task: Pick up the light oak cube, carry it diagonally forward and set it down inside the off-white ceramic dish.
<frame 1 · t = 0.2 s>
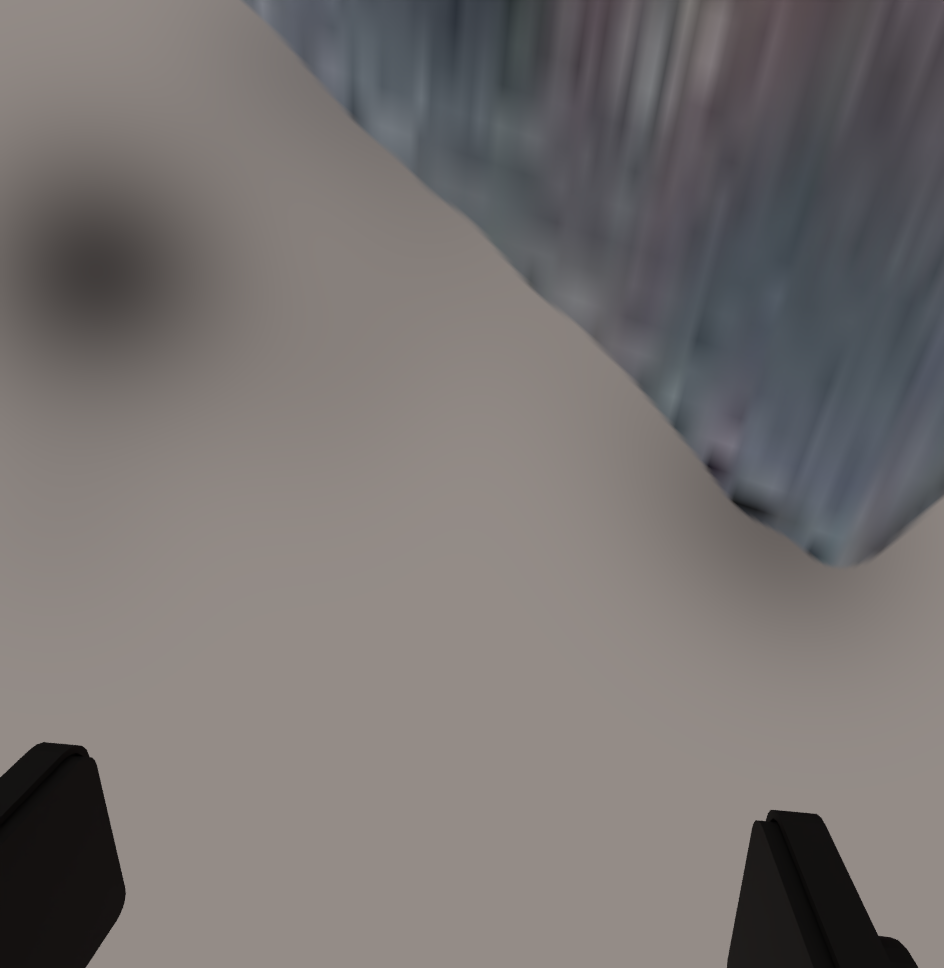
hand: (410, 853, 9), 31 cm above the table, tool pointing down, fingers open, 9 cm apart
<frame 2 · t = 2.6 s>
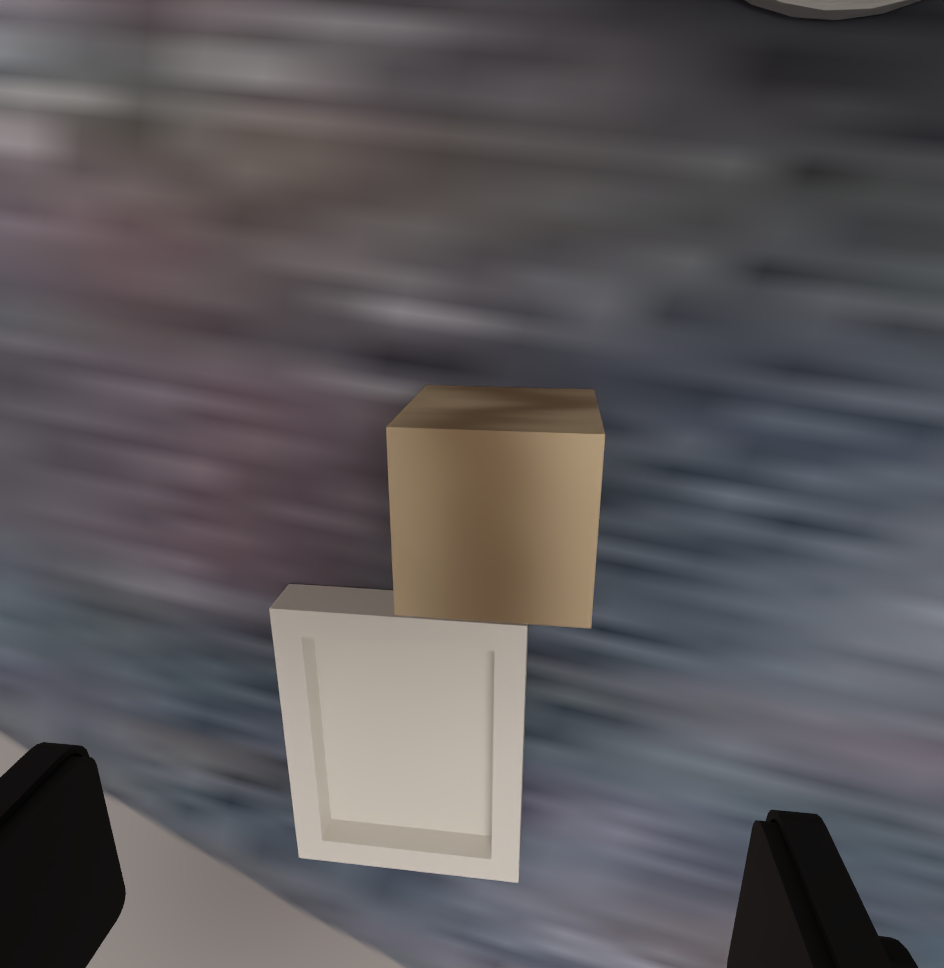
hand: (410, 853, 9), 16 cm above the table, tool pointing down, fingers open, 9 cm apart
oak cube: (507, 466, 24), on the table
dish: (411, 721, 29), on the table
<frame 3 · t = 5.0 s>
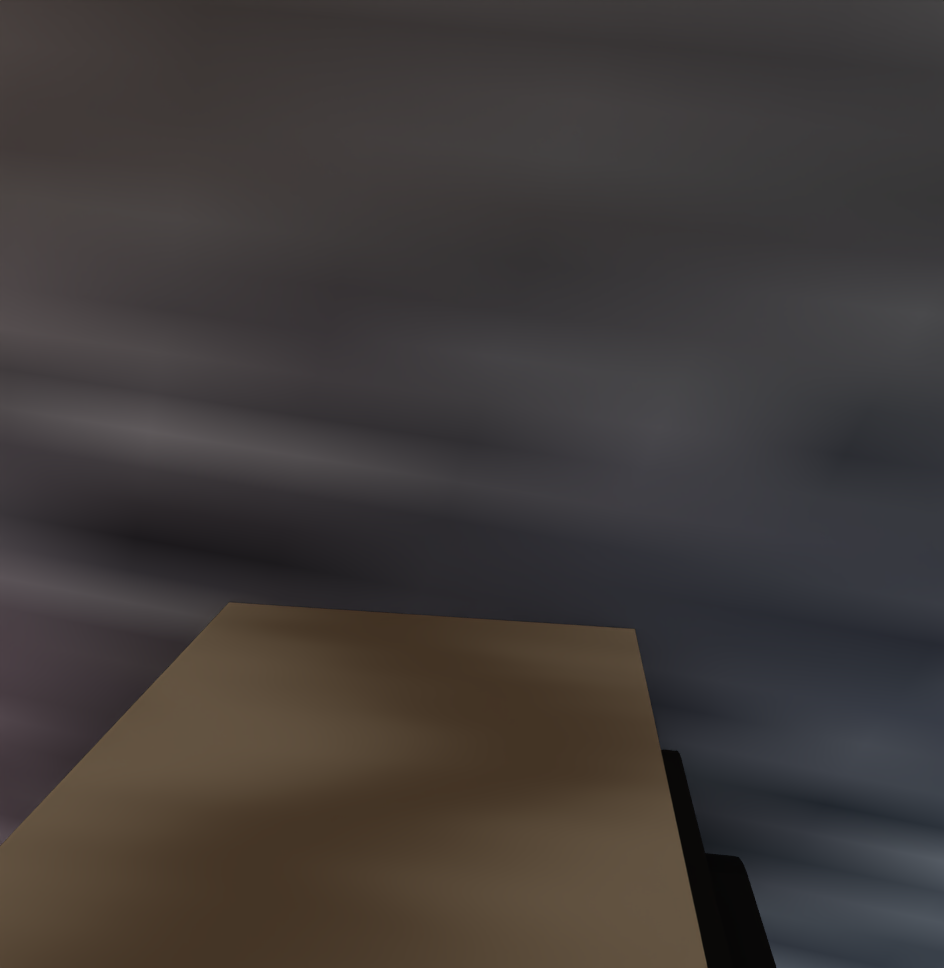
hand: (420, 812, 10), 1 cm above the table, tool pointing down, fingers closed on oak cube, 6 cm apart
oak cube: (428, 778, 11), on the table, touching gripper
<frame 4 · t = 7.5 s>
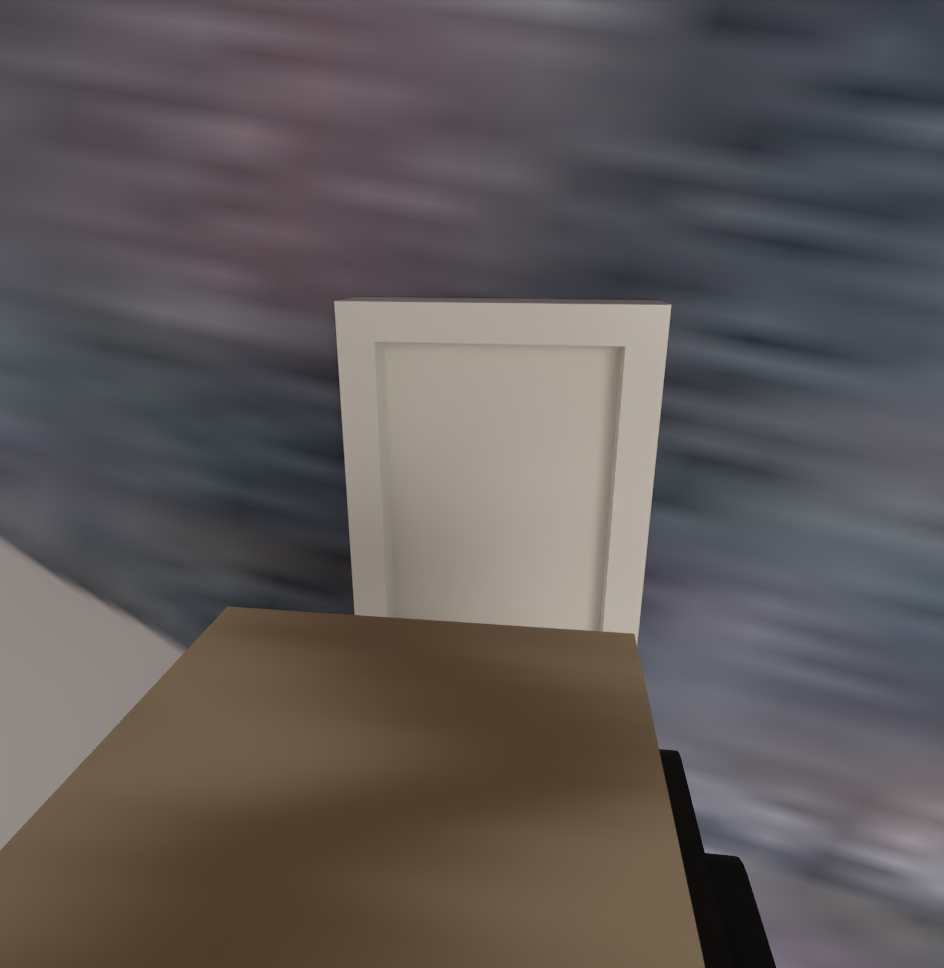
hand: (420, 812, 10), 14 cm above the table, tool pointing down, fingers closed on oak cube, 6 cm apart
oak cube: (427, 783, 11), point 14 cm above the table, touching gripper
dish: (499, 487, 23), on the table
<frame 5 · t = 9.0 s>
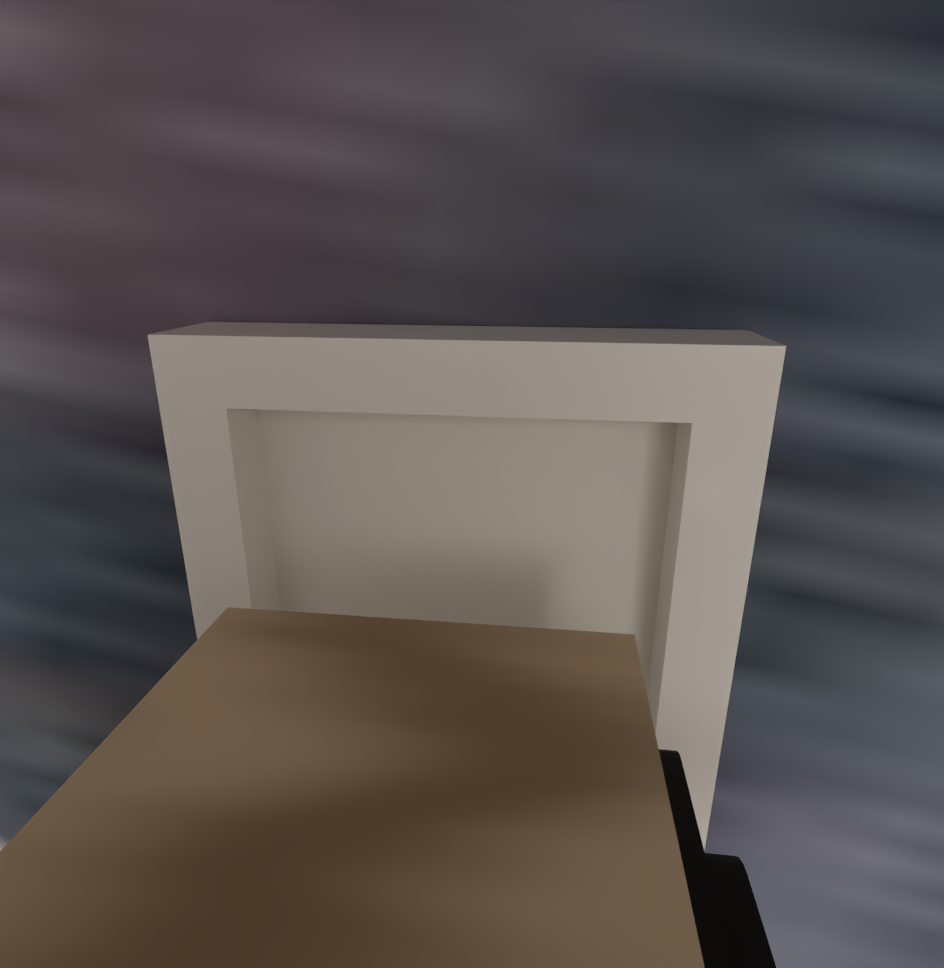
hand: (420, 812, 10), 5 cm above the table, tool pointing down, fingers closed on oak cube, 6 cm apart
oak cube: (427, 783, 11), point 4 cm above the table, touching gripper
dish: (466, 631, 14), on the table
when the fingers open (3 cm above the table, at t = 10.3 s): oak cube drops 1 cm, resting on dish.
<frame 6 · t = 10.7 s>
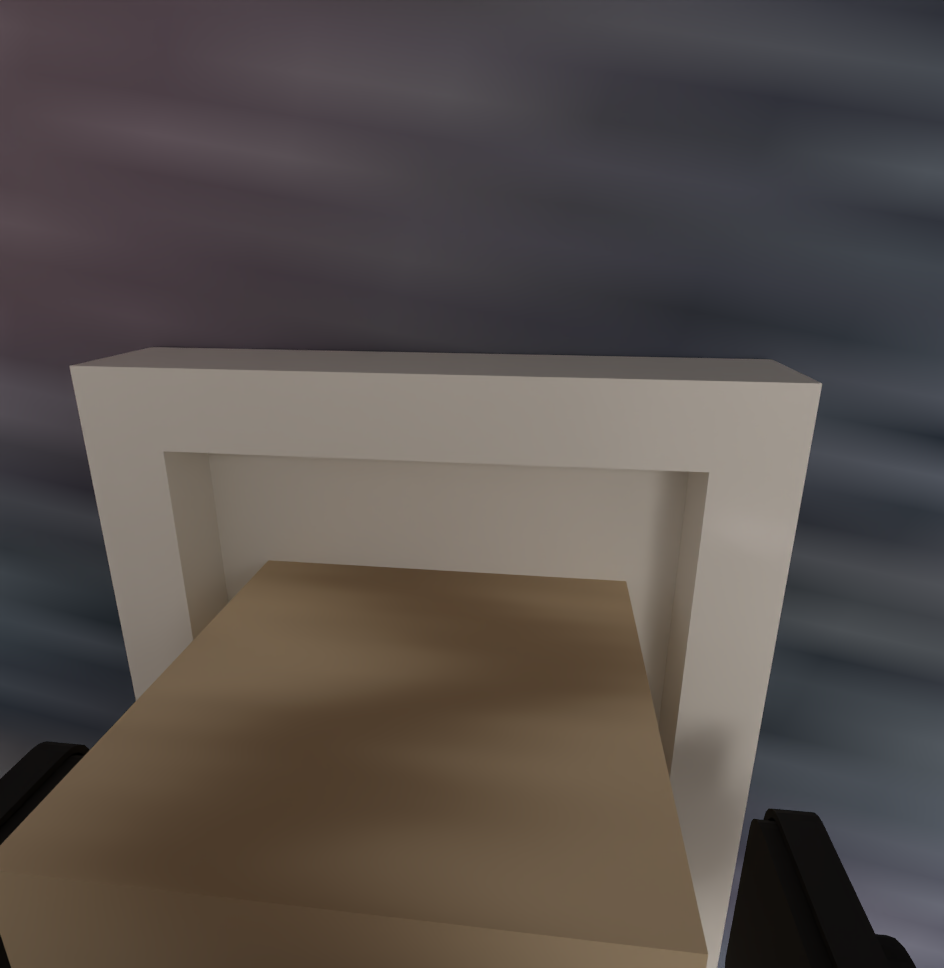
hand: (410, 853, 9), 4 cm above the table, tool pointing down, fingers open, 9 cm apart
oak cube: (443, 719, 12), point 1 cm above the table, touching dish
dish: (448, 693, 13), on the table
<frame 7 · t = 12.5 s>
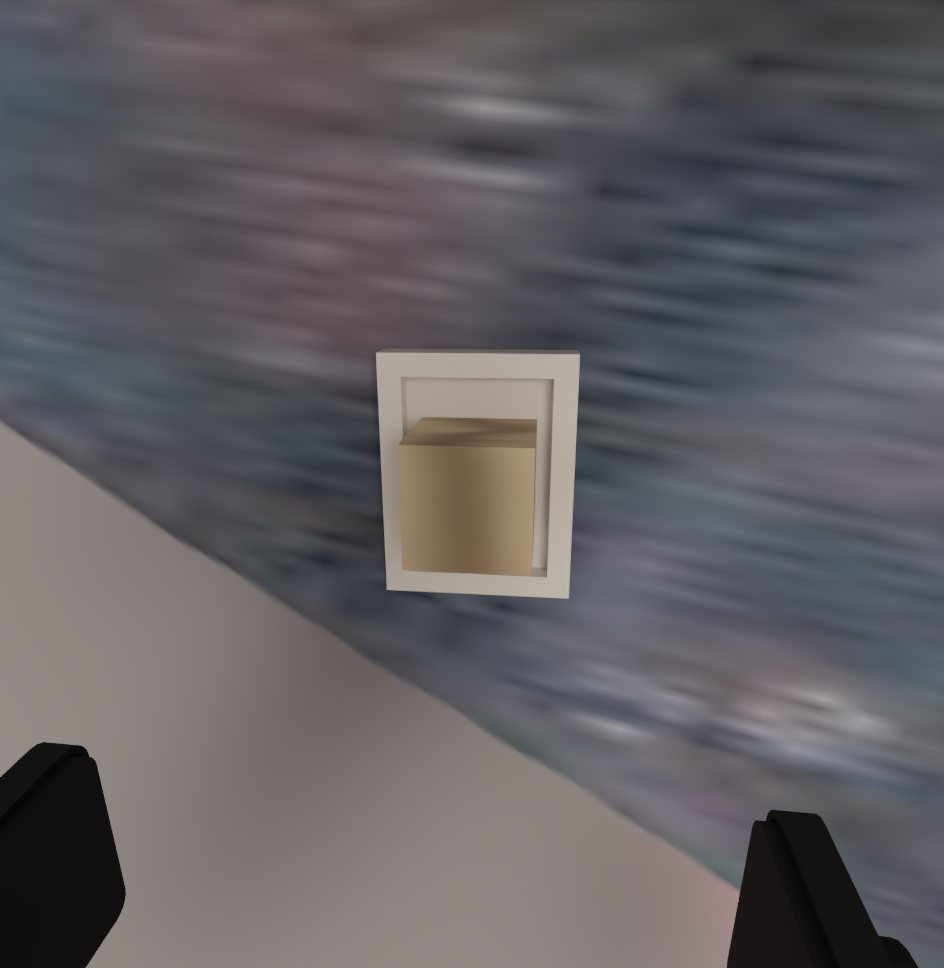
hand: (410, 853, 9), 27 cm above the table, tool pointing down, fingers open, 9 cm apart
oak cube: (479, 473, 35), point 1 cm above the table, touching dish
dish: (480, 469, 36), on the table
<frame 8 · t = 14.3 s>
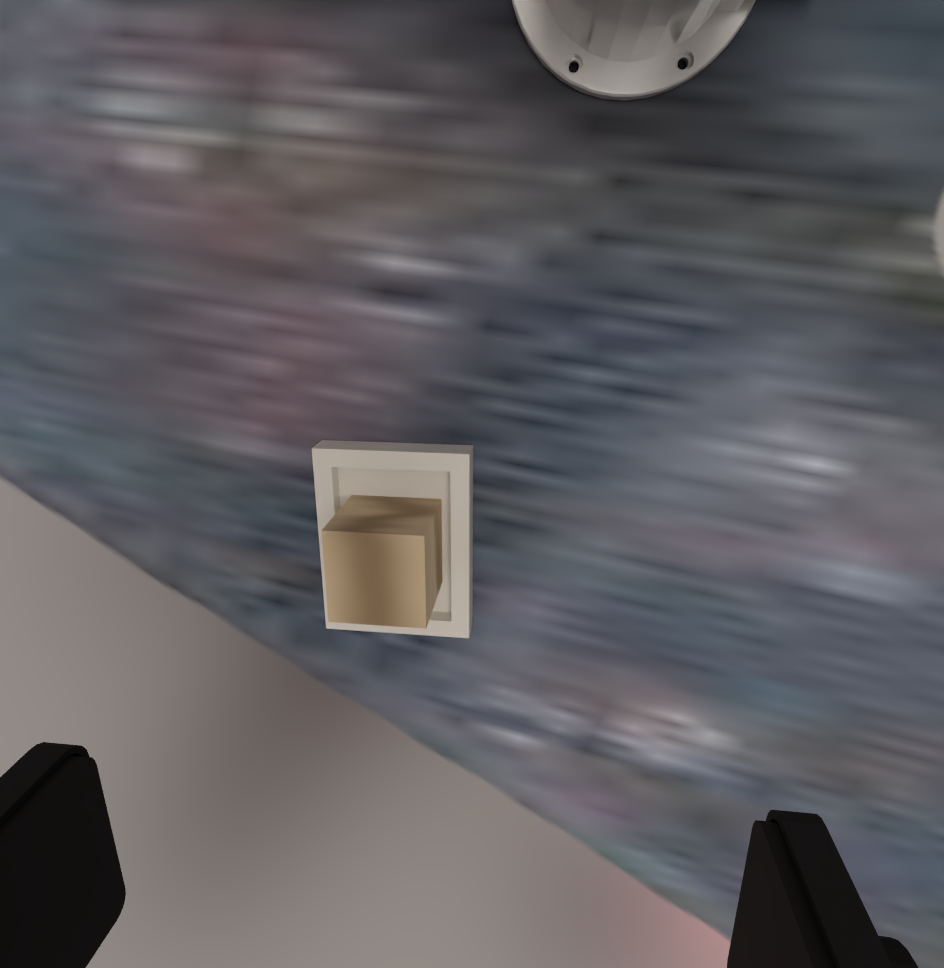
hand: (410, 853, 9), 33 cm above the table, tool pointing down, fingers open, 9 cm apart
oak cube: (397, 538, 44), point 1 cm above the table, touching dish
dish: (400, 534, 45), on the table
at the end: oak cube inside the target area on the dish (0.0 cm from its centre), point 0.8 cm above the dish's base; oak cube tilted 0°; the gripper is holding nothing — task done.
